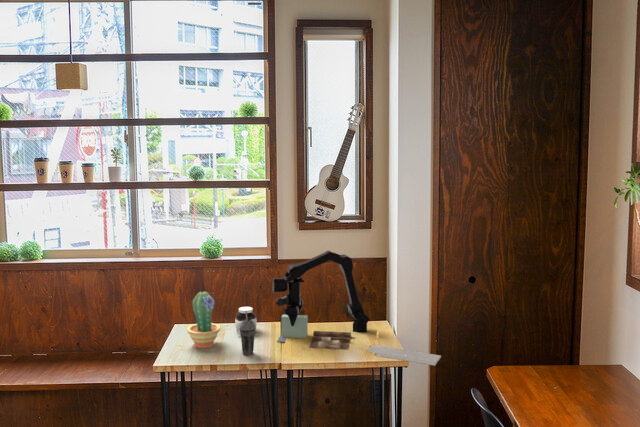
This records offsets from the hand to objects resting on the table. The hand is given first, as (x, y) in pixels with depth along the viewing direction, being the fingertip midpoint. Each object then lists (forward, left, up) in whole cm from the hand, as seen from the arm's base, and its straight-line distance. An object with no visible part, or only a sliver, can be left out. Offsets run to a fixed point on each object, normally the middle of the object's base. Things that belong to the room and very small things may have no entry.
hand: (294, 323), depth 289 cm
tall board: (0, 0, -7) cm, 7 cm away
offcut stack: (-18, +11, -6) cm, 22 cm away
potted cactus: (+40, +15, -7) cm, 43 cm away
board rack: (-18, +6, -7) cm, 20 cm away
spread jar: (+25, -4, -8) cm, 26 cm away
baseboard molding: (-52, +18, -8) cm, 55 cm away
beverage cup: (+17, +24, -7) cm, 30 cm away
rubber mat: (0, 0, -7) cm, 7 cm away
